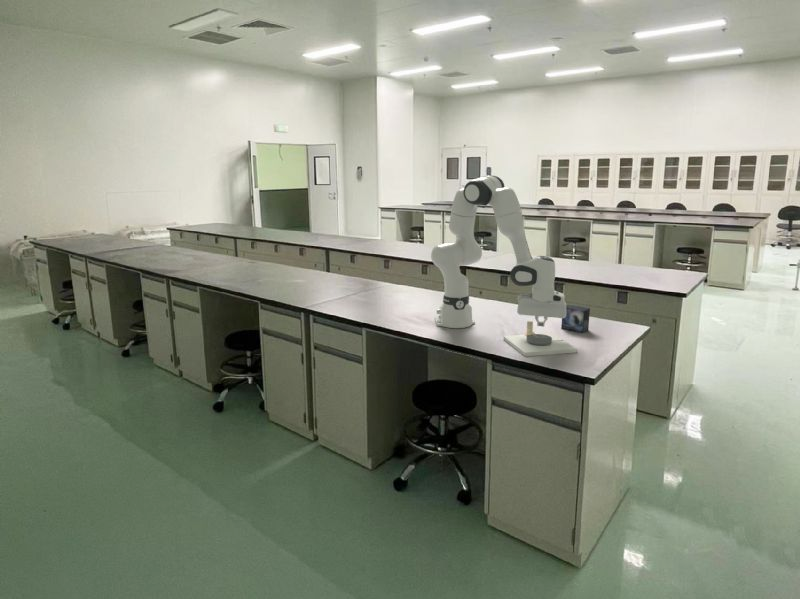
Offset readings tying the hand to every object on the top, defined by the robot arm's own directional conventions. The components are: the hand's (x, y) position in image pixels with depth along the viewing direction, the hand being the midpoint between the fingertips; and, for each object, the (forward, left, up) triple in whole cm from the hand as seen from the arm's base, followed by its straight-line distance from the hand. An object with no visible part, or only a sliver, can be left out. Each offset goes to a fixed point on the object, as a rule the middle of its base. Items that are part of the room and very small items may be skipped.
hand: (540, 326), depth 222 cm
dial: (+6, -5, -4) cm, 8 cm away
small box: (-9, +21, -6) cm, 24 cm away
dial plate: (+9, -5, -6) cm, 12 cm away
